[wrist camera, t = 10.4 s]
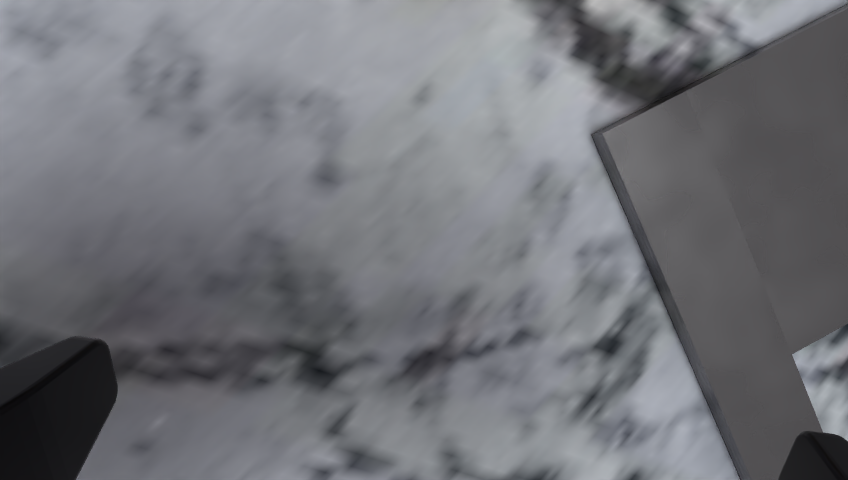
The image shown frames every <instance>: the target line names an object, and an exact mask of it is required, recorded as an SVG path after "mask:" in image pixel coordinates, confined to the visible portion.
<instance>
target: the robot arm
mask: <svg viewBox="0 0 848 480" xmlns="http://www.w3.org/2000/svg"><path fill="white" fill-rule="evenodd" d="M117 392H118V386H117V381H116V376H115V372H114V368H113V364H112V359H111V355H110V351H109V347H108V345H107V344H106V343H105V341H103V340H101V339H96V338H88V337H81V336H74V337H70V338H68V339H65V340H63V341H61V342H59V343H56V344H54V345H52V346H50V347H47V348H45V349H43V350H41V351H38V352H36V353H34V354H31V355H29V356H27V357H25V358H22V359H20V360H18V361H16V362H13V363H11V364H9V365H7V366H4V367H2V368H0V480H76V478H77V476H78V474H79V472H80V470H81V468H82V466H83V465H84V463H85V461H86V459H87V457H88V455H89V453H90V451H91V449H92V447H93V445H94V443H95V441H96V439H97V437H98V435H99V433H100V431H101V429H102V427H103V425H104V423H105V421H106V420H107V418H108V416H109V414H110V412H111V410H112V408H113V406H114V403H115V401H116V398H117ZM778 480H848V441H847V440H845V439H844V438H842V437H841V436H838V435H835V434H830V433H822V432H814V431H804V432H801V433H800V434H799V435H798V436H797V437H796V439H795V441H794V443H793V445H792V448H791V450H790V452H789V454H788V457H787V459H786V461H785V463H784V466H783V468H782V470H781V472H780V475H779V478H778Z"/></svg>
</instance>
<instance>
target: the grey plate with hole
mask: <svg viewBox="0 0 848 480" xmlns="http://www.w3.org/2000/svg"><path fill="white" fill-rule="evenodd" d="M592 137H593V140H594V142H595V144H596V147H597V149H598V151H599V153H600V156H601V158H602V160H603V163H604V165H605V167H606V170H607V172H608V174H609V177H610V179H611V181H612V183H613V186H614V188H615V190H616V193H617V195H618V197H619V200H620V202H621V204H622V207H623V209H624V211H625V213H626V216H627V218H628V220H629V223H630V225H631V227H632V230H633V232H634V234H635V236H636V239H637V241H638V243H639V246H640V248H641V250H642V253H643V255H644V257H645V260H646V262H647V264H648V266H649V269H650V271H651V273H652V276H653V278H654V280H655V283H656V285H657V287H658V290H659V292H660V294H661V296H662V299H663V301H664V303H665V306H666V308H667V310H668V313H669V315H670V317H671V320H672V322H673V324H674V326H675V329H676V331H677V333H678V336H679V338H680V340H681V343H682V345H683V347H684V350H685V352H686V354H687V356H688V359H689V361H690V363H691V366H692V368H693V370H694V373H695V375H696V377H697V379H698V382H699V384H700V386H701V389H702V391H703V393H704V396H705V398H706V400H707V403H708V405H709V407H710V409H711V412H712V414H713V416H714V419H715V421H716V423H717V426H718V428H719V430H720V433H721V435H722V437H723V439H724V442H725V444H726V446H727V449H728V451H729V453H730V456H731V458H732V460H733V463H734V465H735V467H736V469H737V472H738V474H739V476H740V479H741V480H778V478H779V475H780V472H781V470H782V468H783V466H784V463H785V461H786V459H787V457H788V454H789V452H790V450H791V448H792V445H793V443H794V441H795V439H796V437H797V436H798V435H799V434H800V433H801V432H804V431H814V432H822V433H823V431H822V429H821V426H820V424H819V421H818V419H817V416H816V414H815V411H814V409H813V406H812V404H811V401H810V399H809V396H808V394H807V391H806V389H805V386H804V384H803V381H802V379H801V376H800V374H799V371H798V369H797V366H796V364H795V361H794V359H793V356H792V354H793V353H795V352H797V351H799V350H801V349H802V348H804V347H806V346H808V345H810V344H811V343H813V342H815V341H817V340H819V339H821V338H822V337H824V336H826V335H828V334H830V333H831V332H833V331H835V330H837V329H839V328H841V327H842V326H844V325H846V324H848V4H847V5H845V6H843V7H841V8H839V9H837V10H835V11H833V12H831V13H829V14H827V15H825V16H823V17H821V18H820V19H818V20H816V21H814V22H812V23H810V24H808V25H806V26H804V27H802V28H800V29H798V30H796V31H794V32H792V33H790V34H788V35H786V36H784V37H782V38H780V39H778V40H776V41H774V42H772V43H770V44H769V45H767V46H765V47H763V48H761V49H759V50H757V51H755V52H753V53H751V54H749V55H747V56H745V57H743V58H741V59H739V60H737V61H735V62H733V63H731V64H729V65H727V66H725V67H723V68H721V69H719V70H717V71H716V72H714V73H712V74H710V75H708V76H706V77H704V78H702V79H700V80H698V81H696V82H694V83H692V84H690V85H688V86H686V87H684V88H682V89H680V90H678V91H676V92H674V93H672V94H670V95H668V96H666V97H664V98H663V99H661V100H659V101H657V102H655V103H653V104H651V105H649V106H647V107H645V108H643V109H641V110H639V111H637V112H635V113H633V114H631V115H629V116H627V117H625V118H623V119H621V120H619V121H617V122H615V123H613V124H611V125H610V126H608V127H606V128H604V129H602V130H600V131H598V132H596V133H594V134H592Z"/></svg>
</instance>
